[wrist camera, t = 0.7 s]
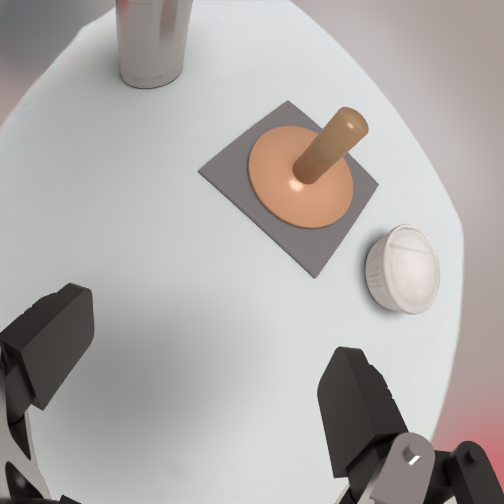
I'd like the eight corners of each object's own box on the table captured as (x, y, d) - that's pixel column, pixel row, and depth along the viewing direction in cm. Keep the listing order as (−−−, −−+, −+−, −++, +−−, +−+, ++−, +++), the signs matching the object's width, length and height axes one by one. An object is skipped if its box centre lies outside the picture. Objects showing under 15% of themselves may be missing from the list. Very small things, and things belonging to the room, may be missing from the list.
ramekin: (394, 222, 38) (419, 211, 33) (423, 289, 37) (449, 284, 32) (343, 255, 34) (369, 245, 29) (378, 331, 33) (406, 331, 28)
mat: (198, 171, 31) (198, 170, 31) (287, 101, 37) (288, 100, 37) (314, 278, 32) (315, 277, 32) (377, 185, 38) (378, 184, 38)
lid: (243, 124, 34) (273, 57, 22) (337, 137, 37) (385, 88, 26) (252, 229, 31) (296, 181, 20) (357, 229, 35) (423, 196, 23)
